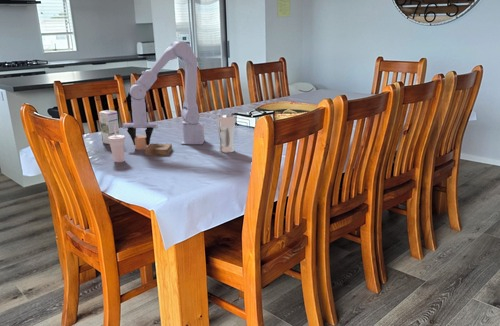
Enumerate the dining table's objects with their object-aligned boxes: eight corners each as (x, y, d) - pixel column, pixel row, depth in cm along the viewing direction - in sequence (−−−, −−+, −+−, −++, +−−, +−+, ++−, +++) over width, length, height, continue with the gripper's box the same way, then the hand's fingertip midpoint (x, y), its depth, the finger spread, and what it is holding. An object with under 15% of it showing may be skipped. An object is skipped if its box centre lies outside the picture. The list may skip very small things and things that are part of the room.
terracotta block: (148, 146, 188) (147, 135, 186) (145, 149, 183) (145, 138, 182) (138, 146, 188) (137, 135, 186) (135, 149, 183) (134, 138, 182)
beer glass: (220, 154, 176) (219, 117, 171) (217, 149, 182) (215, 114, 178) (236, 152, 178) (236, 116, 173) (233, 148, 184) (232, 113, 179)
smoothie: (121, 157, 172) (117, 123, 168) (130, 160, 168) (127, 125, 164) (107, 161, 167) (103, 126, 163) (116, 164, 163) (113, 128, 159)
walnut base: (172, 149, 183) (171, 143, 182) (167, 155, 174) (167, 149, 173) (151, 149, 183) (150, 143, 182) (145, 155, 174) (145, 149, 174)
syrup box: (120, 142, 194) (117, 110, 190) (110, 145, 190) (106, 112, 185) (112, 140, 197) (109, 109, 193) (101, 143, 193) (98, 111, 188)
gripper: (119, 115, 177) (122, 147, 181) (154, 115, 177) (156, 147, 181) (124, 112, 184) (127, 142, 188) (158, 112, 184) (160, 142, 188)
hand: (141, 144), depth 185 cm, fingers open, 5 cm apart
